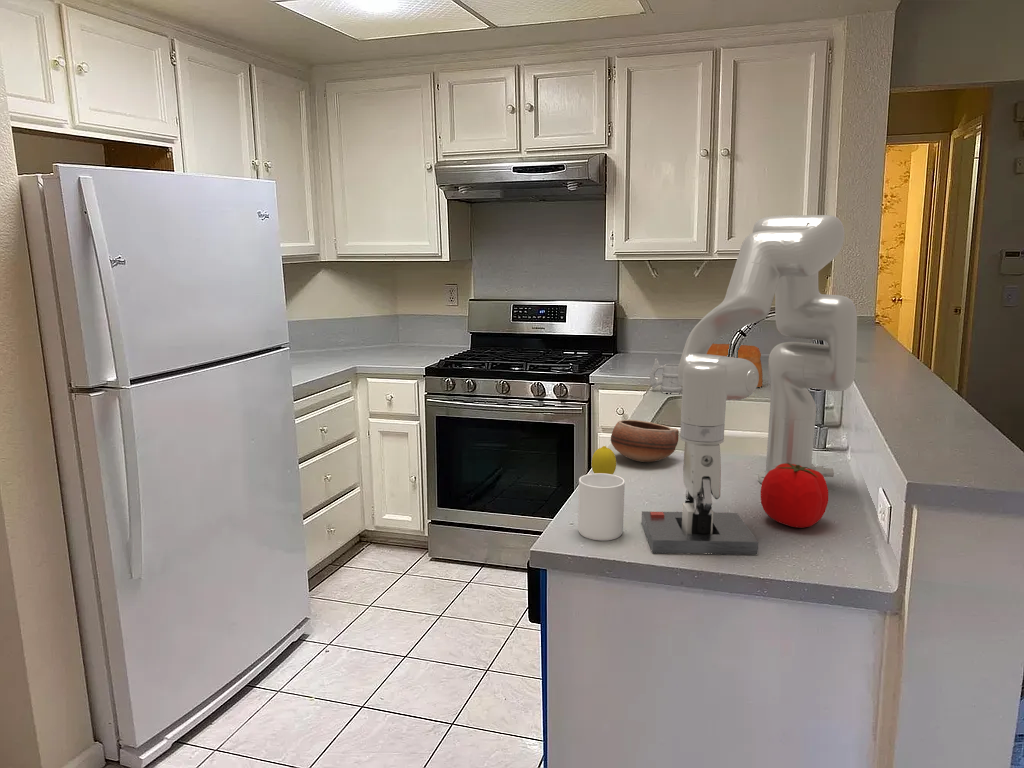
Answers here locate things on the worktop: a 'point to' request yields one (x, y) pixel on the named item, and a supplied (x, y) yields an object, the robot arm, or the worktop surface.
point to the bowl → (644, 440)
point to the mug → (666, 377)
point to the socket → (698, 535)
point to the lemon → (604, 461)
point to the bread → (740, 355)
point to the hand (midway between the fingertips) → (697, 527)
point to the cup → (601, 506)
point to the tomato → (794, 495)
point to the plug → (690, 517)
